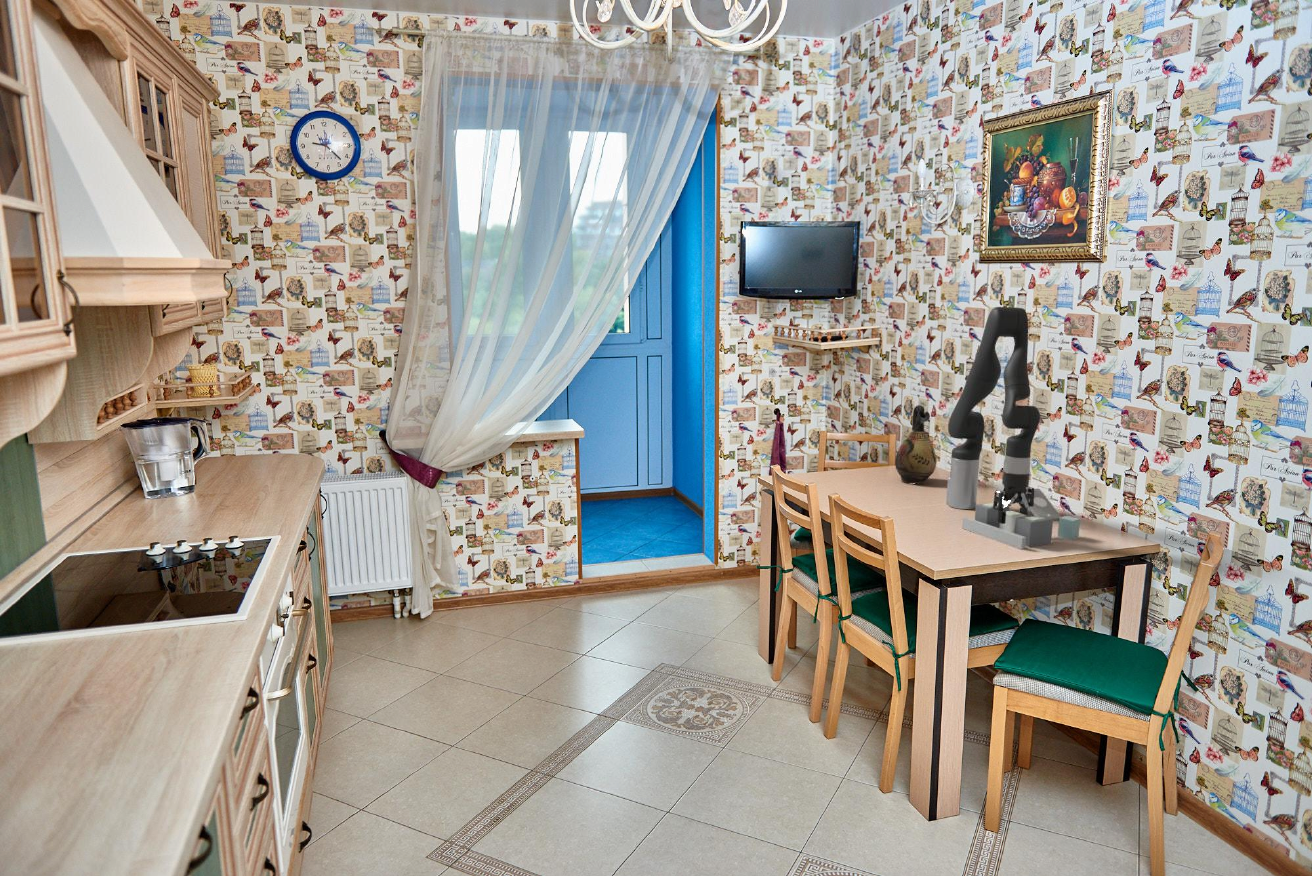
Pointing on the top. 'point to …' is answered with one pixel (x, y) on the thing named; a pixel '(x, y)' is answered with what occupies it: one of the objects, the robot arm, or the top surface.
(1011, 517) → the module
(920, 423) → the ceramic jug
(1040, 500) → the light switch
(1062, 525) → the block
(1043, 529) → the rail mount
